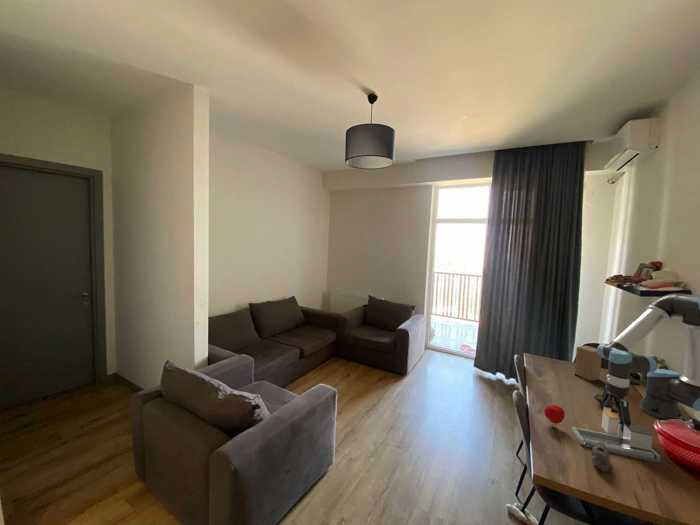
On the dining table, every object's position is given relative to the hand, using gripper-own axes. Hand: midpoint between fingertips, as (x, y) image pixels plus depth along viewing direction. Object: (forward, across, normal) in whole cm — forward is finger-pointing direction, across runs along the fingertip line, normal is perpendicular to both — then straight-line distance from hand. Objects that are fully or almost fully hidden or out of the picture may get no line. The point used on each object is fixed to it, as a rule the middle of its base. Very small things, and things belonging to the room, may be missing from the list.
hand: (613, 428), depth 133 cm
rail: (+1, +13, -6) cm, 14 cm away
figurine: (+2, -25, +7) cm, 26 cm away
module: (+1, 0, 0) cm, 1 cm away
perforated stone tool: (+2, +27, -16) cm, 31 cm away
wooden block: (+1, -66, +14) cm, 68 cm away
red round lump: (+2, +7, -26) cm, 27 cm away
